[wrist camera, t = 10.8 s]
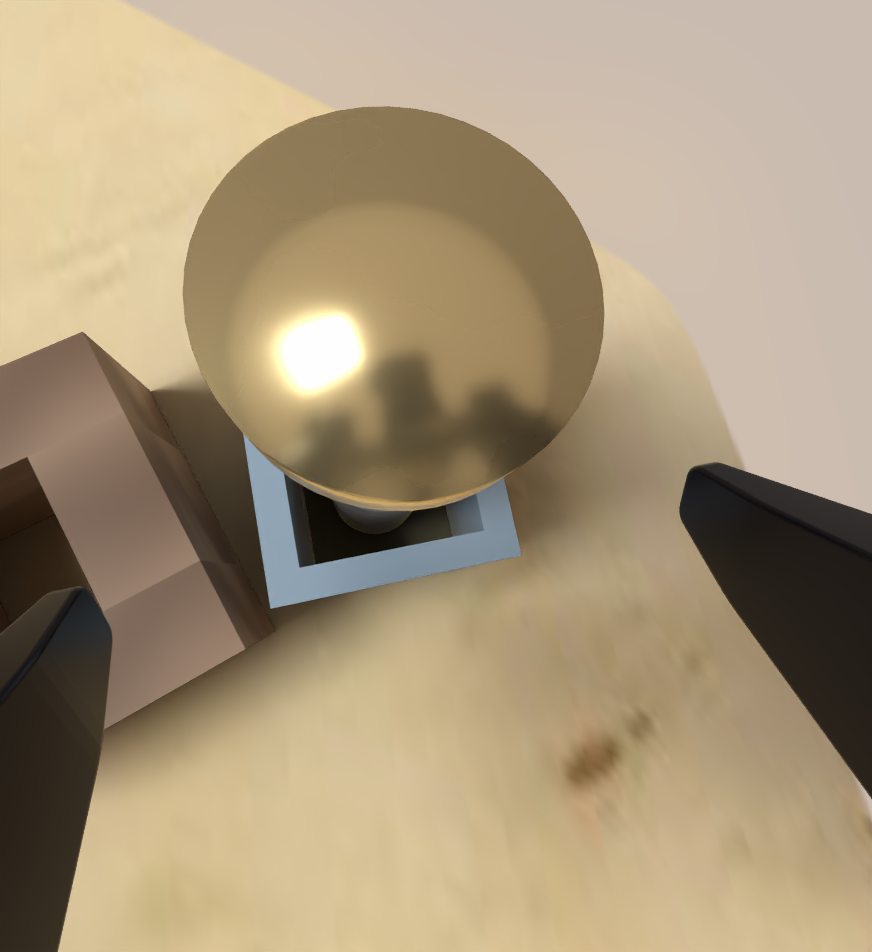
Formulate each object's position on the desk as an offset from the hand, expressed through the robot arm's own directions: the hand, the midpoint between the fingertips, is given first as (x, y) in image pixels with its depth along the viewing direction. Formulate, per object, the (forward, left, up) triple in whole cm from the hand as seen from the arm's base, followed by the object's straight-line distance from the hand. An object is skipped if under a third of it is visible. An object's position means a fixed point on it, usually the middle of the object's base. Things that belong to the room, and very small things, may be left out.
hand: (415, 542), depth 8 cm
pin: (+2, -1, -10) cm, 11 cm away
